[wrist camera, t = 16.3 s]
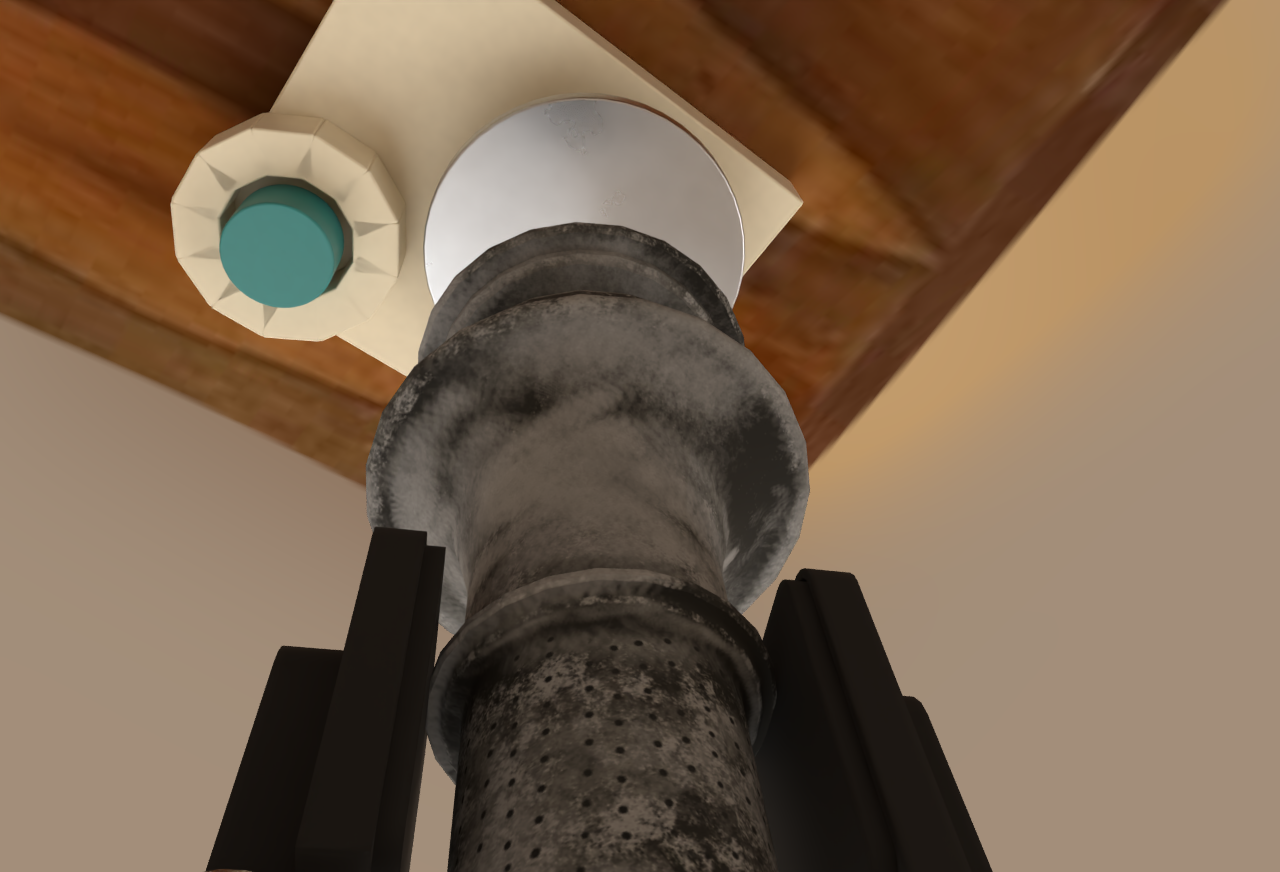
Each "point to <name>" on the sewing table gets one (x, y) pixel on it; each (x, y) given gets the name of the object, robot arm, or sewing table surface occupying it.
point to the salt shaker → (596, 553)
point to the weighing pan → (584, 185)
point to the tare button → (282, 246)
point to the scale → (414, 151)
